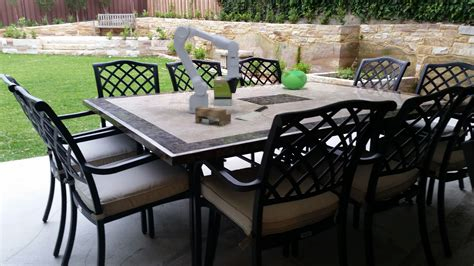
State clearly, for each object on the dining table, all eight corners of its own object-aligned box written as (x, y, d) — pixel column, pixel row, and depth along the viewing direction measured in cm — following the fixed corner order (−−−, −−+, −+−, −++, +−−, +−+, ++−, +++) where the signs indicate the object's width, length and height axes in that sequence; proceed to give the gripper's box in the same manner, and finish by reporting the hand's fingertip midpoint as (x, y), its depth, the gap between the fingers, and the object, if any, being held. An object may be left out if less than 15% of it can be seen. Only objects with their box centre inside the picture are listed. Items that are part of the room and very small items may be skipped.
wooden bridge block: (195, 122, 178) (195, 107, 176) (205, 119, 185) (204, 104, 183) (222, 126, 172) (221, 111, 170) (230, 122, 179) (230, 107, 177)
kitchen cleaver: (253, 120, 181) (234, 115, 185) (253, 123, 181) (234, 119, 186) (278, 108, 208) (261, 104, 212) (277, 111, 208) (260, 107, 212)
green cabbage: (307, 87, 283) (308, 67, 279) (305, 91, 267) (306, 69, 263) (282, 86, 287) (282, 66, 283) (279, 90, 271) (280, 69, 267)
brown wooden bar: (201, 123, 178) (201, 118, 178) (218, 117, 190) (218, 113, 189) (208, 124, 176) (208, 119, 176) (225, 118, 188) (225, 113, 187)
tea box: (215, 101, 231) (214, 76, 228) (232, 101, 231) (232, 76, 228) (213, 106, 217) (213, 79, 213) (231, 106, 217) (231, 79, 213)
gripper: (232, 67, 186) (233, 95, 190) (246, 65, 198) (246, 91, 202) (220, 66, 189) (220, 94, 193) (234, 64, 202) (234, 90, 205)
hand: (233, 93), depth 198 cm, fingers closed
